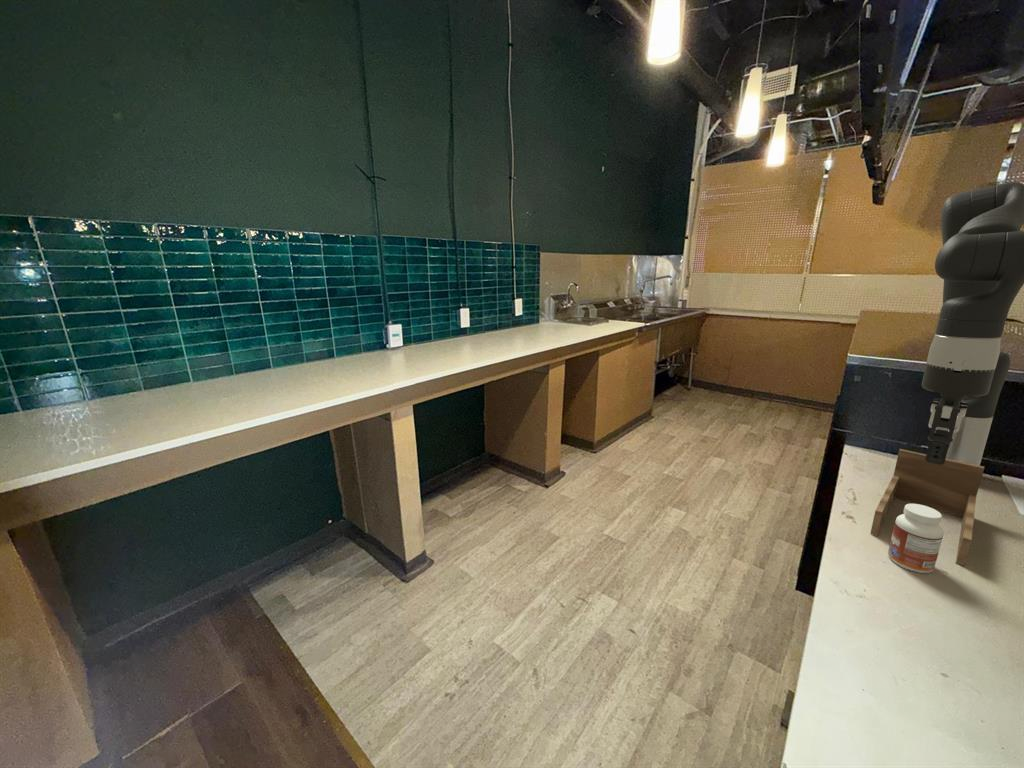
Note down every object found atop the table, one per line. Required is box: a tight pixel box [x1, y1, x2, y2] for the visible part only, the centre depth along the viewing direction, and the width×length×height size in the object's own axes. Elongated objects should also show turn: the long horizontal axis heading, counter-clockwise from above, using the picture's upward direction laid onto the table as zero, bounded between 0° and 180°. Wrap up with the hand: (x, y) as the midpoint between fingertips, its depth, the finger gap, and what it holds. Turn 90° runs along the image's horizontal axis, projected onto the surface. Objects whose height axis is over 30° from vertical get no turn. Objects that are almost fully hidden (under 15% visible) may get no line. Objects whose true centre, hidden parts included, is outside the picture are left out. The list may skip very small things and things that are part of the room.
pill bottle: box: [887, 503, 945, 574], centre depth 72 cm, size 6×6×11 cm
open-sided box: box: [870, 448, 985, 567], centre depth 83 cm, size 23×13×12 cm, turn 130°
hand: (937, 455), depth 68 cm, fingers open, 8 cm apart
